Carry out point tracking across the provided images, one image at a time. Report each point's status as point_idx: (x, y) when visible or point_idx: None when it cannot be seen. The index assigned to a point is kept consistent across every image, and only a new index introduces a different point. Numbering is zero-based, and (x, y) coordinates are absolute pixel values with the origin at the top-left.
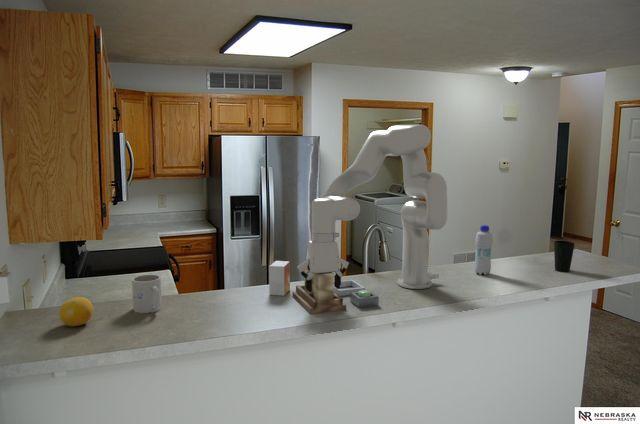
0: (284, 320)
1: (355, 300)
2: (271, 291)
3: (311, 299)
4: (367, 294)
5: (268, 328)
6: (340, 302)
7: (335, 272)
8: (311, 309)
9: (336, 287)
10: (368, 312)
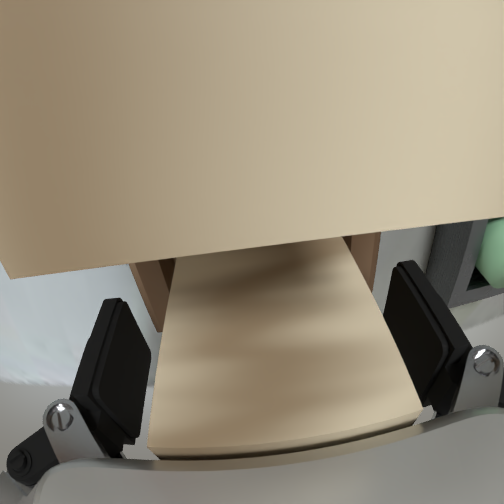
0: (58, 345)
1: (446, 255)
2: None
3: (158, 315)
4: (502, 284)
5: (33, 376)
6: None
7: (458, 393)
8: (161, 331)
9: (387, 308)
10: None
